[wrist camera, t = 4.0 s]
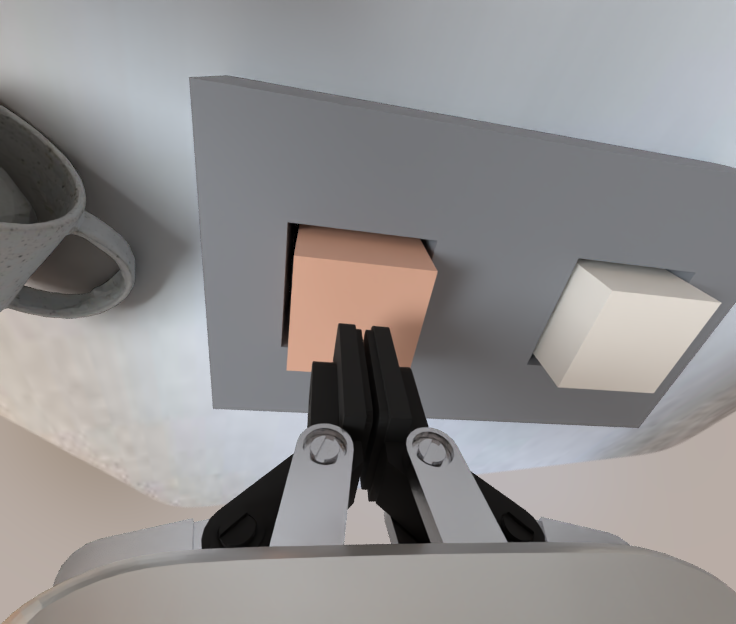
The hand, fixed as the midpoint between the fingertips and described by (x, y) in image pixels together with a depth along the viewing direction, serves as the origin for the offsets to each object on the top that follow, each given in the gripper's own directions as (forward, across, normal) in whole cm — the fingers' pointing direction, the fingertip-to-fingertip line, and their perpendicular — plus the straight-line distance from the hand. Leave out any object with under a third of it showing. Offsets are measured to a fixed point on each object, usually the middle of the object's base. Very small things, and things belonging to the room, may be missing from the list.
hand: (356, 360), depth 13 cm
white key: (+7, -12, 0) cm, 14 cm away
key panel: (+9, -6, 0) cm, 11 cm away
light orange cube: (+7, 0, 0) cm, 7 cm away
